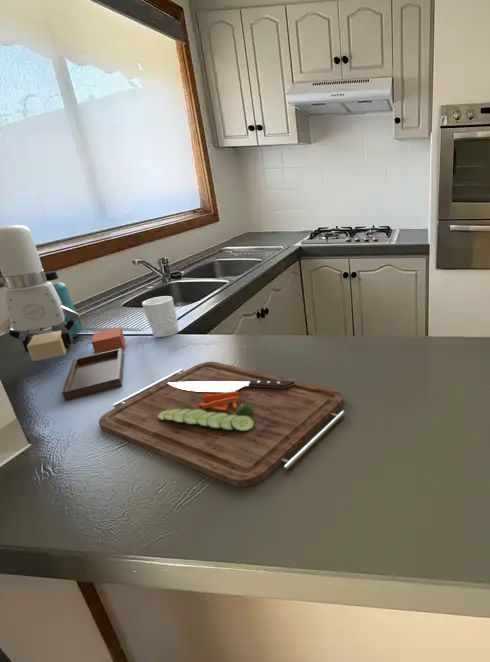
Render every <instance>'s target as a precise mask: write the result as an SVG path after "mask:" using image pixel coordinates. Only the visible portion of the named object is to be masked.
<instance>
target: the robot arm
mask: <svg viewBox="0 0 490 662" xmlns="http://www.w3.org/2000/svg"><path fill="white" fill-rule="evenodd" d="M0 272H1V275H2V276H1V277H0V285H1V286H4V287H5V289H3V290H2V291H3V299H4V304H5V309H6V313H7V316H8V317H7V318H6V319H5V320H4V321H3V323H2V324H1V325H0V332H3V333H4V334H7V335H9V336H10V337H12V338H14V339H17V340H19V341H20V342H21V343H22V346H23V348H24V351H25V352H26V353H29V351H28V348H27V345H28V344H29V342H30V341H31V339H32V337H31V336H30V335H29V331H32V330H33V331H34V330H36V329H37V330H38V329H43V328H51V326H57V327H58V328H59V329H60V330H61V332H62V333H61V337H62V340H63V343H64V346H65V348H66V349H67V350H69V349H70V348H71V347H70V344H72V345H73V343H72V339H71V336H70V333H69V330H70V329H71V327H72V326H73V325H74V323H75V322H76V320H77V319H78V317H79V318H80V313H79V312H78V311H76V310H75V311H76V312H75V311H73V310H70V309H68V308H66V307H64V306H63V305H62V302H61V300H60V298H59V296H58V294H57V292H56V290H55V288H54V286H53V285H52V283H53V282H52V281H47V279H46V276H45V273H44V272H45V270H44V268H43V264H42V261H41V258H40V256H39V252H38V249H37V246H36V243H35V239H34V238H33V234H32V232H31V230H30V228H28V227H27V226H25V225H21V224H20V225H19V224H16V225H15V224H14V225H12V224H11V225H3V226H0ZM66 315H68V316H70V317H71V319H70V320H69V321H68V323H67V324H66V323H65V322H64V320H65V317H66ZM10 325H11V326H10Z"/></svg>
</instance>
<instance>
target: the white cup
mask: <svg viewBox="0 0 490 662" xmlns="http://www.w3.org/2000/svg"><path fill="white" fill-rule="evenodd" d="M141 305H142V308H143V312H144V314H145V316H146V319H147V322H148V324H149V327H150V329H151V333H152V335H153V336H154V337H155V338H166V337H170V336H172V335H175V334H177V333H178V332H179V330H180V329H179V324H178V317H177V312H176V307H175V303H174V297H173V296H171V295H162V296H160V295H159V296H156V297H151V298H148V299H146V300H144V301H142V303H141Z"/></svg>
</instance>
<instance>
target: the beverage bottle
mask: <svg viewBox="0 0 490 662" xmlns="http://www.w3.org/2000/svg"><path fill="white" fill-rule="evenodd" d="M44 273H45V276H46V279H47V282H51V283H52V285H53V286H54V288H55V290H56V292H57V294H58V296H59V298H60V300H61V302H62V305H63V306H64V307H66V308H68V309H70V310H73V311H75V312H77V309H76V307H75V304H74V302H73V300H72V298H71V295H70V293H69V290H68V288H67V287H68V286H67V284H65V283H63V282H61V281H55V280H58V279H59V275H58V274H57V271H56V270H50V271H49V270H48V271H44ZM52 281H55V282H52ZM70 319H71V317H70V316H68V315H66V317H65V320H66V323H68V321H69V320H70ZM70 331H71V334H72V336H76V335H78V334H80V333H82V332H83V326H82V323H81V320H80V316H79V317H78V319H77V320H76V322H75V323H74V325H73V326H72V327H71V329H70Z"/></svg>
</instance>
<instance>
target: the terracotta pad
mask: <svg viewBox="0 0 490 662" xmlns="http://www.w3.org/2000/svg"><path fill="white" fill-rule="evenodd" d="M122 329H123V328H122V326H121V327H120V326H119V327H115V328H110V329H105V330H101V331H96V332H94V333H93V335H92V340H91V345H92V348H93V350H94V354H98V353H102V352H106V351H111V350H115V349H119V348H122V350H123V351H124V350H125V347H126V346H125V345H126V338H125V336H124V332H123V330H122Z"/></svg>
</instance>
